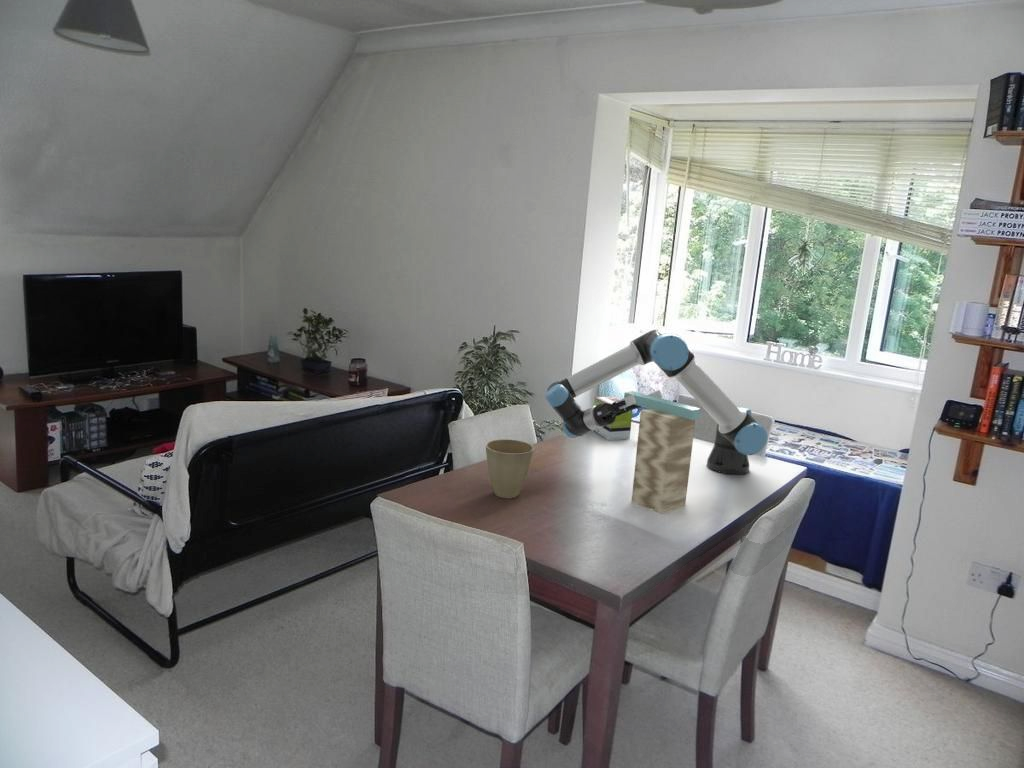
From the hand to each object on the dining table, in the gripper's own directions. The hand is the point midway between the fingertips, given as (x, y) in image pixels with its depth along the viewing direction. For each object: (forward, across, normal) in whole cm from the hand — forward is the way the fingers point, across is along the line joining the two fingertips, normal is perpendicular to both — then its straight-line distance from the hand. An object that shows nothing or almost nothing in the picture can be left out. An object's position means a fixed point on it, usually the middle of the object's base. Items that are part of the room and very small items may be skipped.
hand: (647, 396), depth 247 cm
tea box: (-63, -50, -2) cm, 80 cm away
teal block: (+3, 0, -5) cm, 6 cm away
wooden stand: (-9, 0, -33) cm, 34 cm away
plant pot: (-38, +35, -16) cm, 54 cm away
